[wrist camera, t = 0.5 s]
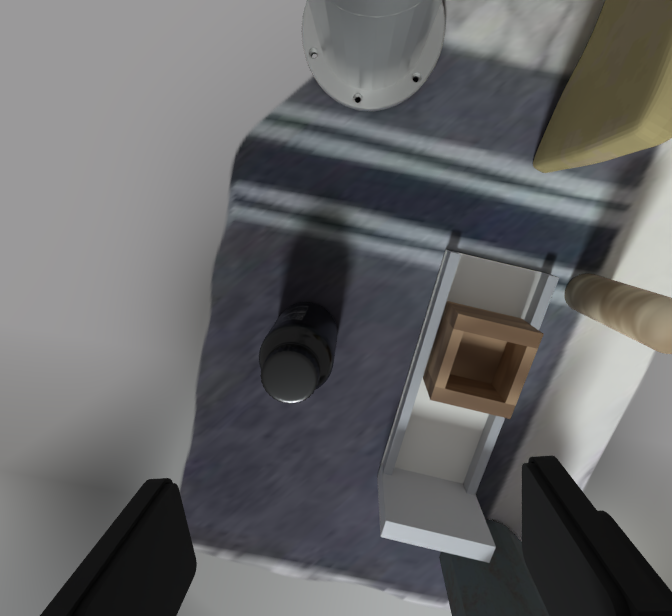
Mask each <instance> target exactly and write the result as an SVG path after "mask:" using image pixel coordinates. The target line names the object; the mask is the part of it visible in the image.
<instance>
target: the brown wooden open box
mask: <svg viewBox="0 0 672 616" xmlns="http://www.w3.org/2000/svg"><path fill="white" fill-rule="evenodd" d="M542 337H543V333H542V332H540V331H539V330H537V329H536V328H535V327H533V326H532V325H530V324H529V323H528V322H526V321H525V320H523V319H522V318H518V317H513V316H509V315H505V314H501V313H496V312H492V311H488V310H484V309H480V308H475V307H471V306H467V305H463V304H458V303H454V302H450V301H447V302H446V305H445V309H444V312H443V315H442V318H441V321H440V324H439V328H438V331H437V334H436V337H435V340H434V344H433V347H432V350H431V353H430V356H429V360H428V363H427V366H426V369H425V372H424V376H423V380H424V383H425V386H426V389H427V392H428V395H429V398H430V400H432V401H436V402H441V403H445V404H449V405H453V406H457V407H462V408H466V409H470V410H474V411H478V412H483V413H487V414H491V415H495V416H500V417H504V418H508V419H510V418H511V416H512V413H513V411H514V408H515V406H516V403H517V401H518V398H519V395H520V393H521V390H522V388H523V385H524V383H525V380H526V378H527V375H528V372H529V370H530V367H531V365H532V362H533V360H534V357H535V355H536V352H537V349H538V347H539V344H540V342H541V339H542Z"/></svg>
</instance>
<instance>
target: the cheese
mask: <svg viewBox="0 0 672 616" xmlns="http://www.w3.org/2000/svg"><path fill="white" fill-rule="evenodd" d="M671 138H672V0H605V3H604V5H603V8H602V11H601V13H600V16H599V18H598V21H597V23H596V26H595V28H594V30H593V33H592V35H591V37H590V40H589V42H588V44H587V46H586V48H585V50H584V52H583V54H582V56H581V58H580V60H579V62H578V64H577V66H576V68H575V70H574V72H573V74H572V75H571V77H570V79H569V81H568V83H567V85H566V87H565V89H564V91H563V93H562V95H561V97H560V99H559V101H558V104H557V106H556V108H555V110H554V113H553V115H552V117H551V119H550V122H549V124H548V126H547V129H546V131H545V133H544V136H543V138H542V140H541V143H540V145H539V147H538V150H537V152H536V155H535V158H534V161H533V166H534V168H535V169H537V170H539V171H541V172H542V173H548V172H553V171H558V170H563V169H569V168H575V167H581V166H586V165H591V164H595V163H599V162H603V161H607V160H610V159H614V158H617V157H620V156H624V155H627V154H630V153H633V152H637V151H640V150H643V149H647V148H650V147H654V146H657V145H659V144H662V143H664V142H666V141H668V140H669V139H671Z"/></svg>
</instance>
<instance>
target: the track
mask: <svg viewBox="0 0 672 616" xmlns="http://www.w3.org/2000/svg"><path fill="white" fill-rule="evenodd" d="M558 280H559V277H556V276H553V275H551V274H547V273H543V272H539V271H534V270H530V269H526V268H522V267H517V266H513V265H509V264H505V263H500V262H496V261H492V260H488V259H483V258H479V257H475V256H471V255H467V254H462V253H458V252H454V251H450V250H445V253H444V257H443V260H442V263H441V267H440V270H439V273H438V277H437V280H436V283H435V287H434V290H433V293H432V297H431V300H430V303H429V307H428V310H427V313H426V316H425V320H424V323H423V326H422V330H421V333H420V336H419V340H418V343H417V346H416V350H415V353H414V356H413V360H412V363H411V366H410V370H409V373H408V376H407V379H406V383H405V386H404V389H403V393H402V396H401V399H400V403H399V406H398V409H397V413H396V416H395V419H394V423H393V426H392V429H391V433H390V436H389V439H388V442H387V446H386V449H385V452H384V456H383V459H382V462H381V466H380V469H379V472H378V476H377V478H378V496H379V514H380V532H381V537H383V538H387V539H392V540H396V541H400V542H404V543H408V544H413V545H417V546H421V547H425V548H429V549H433V550H438V551H442V552H446V553H450V554H454V555H458V556H463V557H467V558H471V559H475V560H479V561H484V562H488V563H489V562H490V560H491V558H492V555H493V553H494V550H495V548H496V546H495V543H494V541H493V538H492V536H491V533H490V531H489V528H488V525H487V523H486V520H485V518H484V515H483V513H482V510H481V508H480V505H479V502H478V500H477V497H476V495H475V494H476V491H477V489H478V486H479V484H480V481H481V479H482V476H483V473H484V471H485V468H486V466H487V463H488V460H489V458H490V455H491V453H492V450H493V448H494V445H495V442H496V440H497V437H498V435H499V432H500V429H501V427H502V424H503V422H504V419H505V418H504V417H500V416H495V415H491V414H487V413H483V412H478V411H474V410H470V409H466V408H462V407H457V406H453V405H449V404H445V403H441V402H436V401H432V400H430V398H429V395H428V392H427V389H426V386H425V383H424V380H423V376H424V372H425V369H426V366H427V363H428V360H429V356H430V353H431V350H432V347H433V344H434V340H435V337H436V334H437V331H438V328H439V324H440V321H441V318H442V315H443V312H444V309H445V305H446V302H447V301H450V302H454V303H458V304H463V305H467V306H471V307H475V308H480V309H484V310H488V311H492V312H496V313H501V314H505V315H509V316H513V317H518V318H522V319H523V320H525V321H526V322H528V323H529V324H530V325H532V326H533V327H535V328H536V329H537V330H539V329H540V326H541V323H542V321H543V318H544V316H545V313H546V311H547V308H548V305H549V303H550V300H551V298H552V295H553V292H554V290H555V287H556V285H557V282H558Z"/></svg>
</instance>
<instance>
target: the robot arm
mask: <svg viewBox="0 0 672 616" xmlns="http://www.w3.org/2000/svg"><path fill="white" fill-rule="evenodd" d="M444 32H445V14H444V6H443V2H442V0H307V2H306V6H305V10H304V13H303V22H302V40H303V49H304V52H305V56H306V61H307V63H308V66H309V68H310V71H311V72H312V74H313V76H314V78H315V80H316V81H317V83H318V84H319V85H320V87H321V88H322V89H323V90H324V91H325V93H327V94H328V95H329V96H330V97H331V98H333V99H334V100H335V101H337V102H339V103H341V104H342V105H344V106H346V107H349V108H352V109H356V110H360V111H378V110H385V109H388V108H391V107H394V106H396V105H398V104H400V103H402V102H403V101H405V100H407V99H409V98H410V97H411V96H412V95H413V94H414V93H415V92H417V91H418V90H419V89H420V88H421V86H422V85H423V84H424V83H425V81H426V80H427V79H428V77H429V76H430V74H431V72H432V71H433V69H434V67H435V65H436V62H437V60H438V58H439V56H440V52H441V49H442V45H443V41H444ZM313 54H317V57H316V58H312V55H313ZM414 77H416V78H418V82H414V81H413V78H414ZM356 98H360V99H361V101H360V102H359V103H357V102H356V101H355V99H356ZM522 552H523V557H524V560H525V563H526V566H527V568H528V570H529V572H530V574H531V577H532V579H533V581H534V583H535V585H536V588H537V590H538V592H539V594H540V596H541V598H542V601H543V603H544V605H545V607H546V609H547V612H548V614H549V616H672V592H671V591H670V589H669V588H668V587H667V585H666V584H665V583H664V582H663V580H662V579H661V578H660V577H659V576H658V574H657V573H656V572H655V571H654V569H653V568H652V567H651V566H650V564H649V563H648V562H647V561H646V559H645V558H644V557H643V556H642V554H641V553H640V552H639V551H638V549H637V548H636V547H635V546H634V544H633V543H632V542H631V541H630V539H629V538H628V537H627V536H626V534H625V533H624V532H623V531H622V529H621V528H620V527H619V526H618V524H617V523H616V522H615V521H614V519H613V518H612V517H611V516H610V515H609V514H608V513H606V512H604V511H597V510H596V509H595V508H594V506H593V505H592V503H591V502H590V501H589V500H588V498H587V497H586V496H585V494H584V493H583V492H582V490H581V489H580V488H579V487H578V485H577V484H576V483H575V481H574V480H573V479H572V478H571V476H570V475H569V474H568V472H567V471H566V470H565V468H564V467H563V466H562V465H561V463H560V462H559V461H558V459H557V458H556V457H555V456H540V457H530V458H529V462H528V463H524V464H523V465H522ZM195 572H196V557H195V553H194V549H193V545H192V541H191V537H190V533H189V529H188V525H187V520H186V516H185V512H184V508H183V504H182V500H181V496H180V492H179V488H178V486H177V484H175V483H173V482H172V480H171V479H169V478H163V479H149V480H147V481H146V482H145V483H144V484H143V485H142V487H141V488H140V489H139V490H138V492H137V493H136V494H135V496H134V497H133V498H132V499H131V501H130V502H129V503H128V504H127V506H126V507H125V508H124V509H123V511H122V512H121V513H120V515H119V516H118V517H117V519H116V520H115V521H114V522H113V523H112V525H111V526H110V527H109V529H108V530H107V531H106V532H105V534H104V535H103V536H102V537H101V539H100V540H99V541H98V543H97V544H96V545H95V546H94V548H93V549H92V550H91V552H90V553H89V554H88V555H87V556H86V558H85V559H84V560H83V562H82V563H81V564H80V566H79V567H78V568H77V569H76V571H75V572H74V573H73V574H72V576H71V577H70V578H69V579H68V581H67V582H66V583H65V584H64V586H63V587H62V588H61V590H60V591H59V592H58V593H57V595H56V596H55V597H54V599H53V600H52V601H51V602H50V604H49V605H48V606H47V607H46V609H45V610H44V611H43V613H42V614H41V615H40V616H176V615H177V613H178V611H179V609H180V606H181V604H182V602H183V600H184V598H185V595H186V593H187V591H188V589H189V587H190V584H191V582H192V580H193V577H194V575H195Z"/></svg>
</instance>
